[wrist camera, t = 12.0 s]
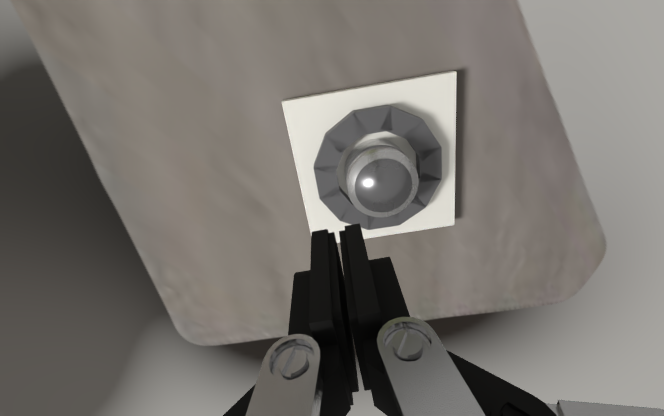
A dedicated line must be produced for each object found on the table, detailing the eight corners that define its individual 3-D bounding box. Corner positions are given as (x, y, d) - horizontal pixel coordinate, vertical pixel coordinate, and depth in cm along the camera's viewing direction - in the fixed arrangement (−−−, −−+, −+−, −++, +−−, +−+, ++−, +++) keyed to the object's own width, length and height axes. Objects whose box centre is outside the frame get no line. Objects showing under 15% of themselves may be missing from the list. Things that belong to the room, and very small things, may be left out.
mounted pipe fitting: (283, 100, 28) (280, 104, 26) (451, 70, 28) (462, 72, 26) (313, 240, 35) (313, 252, 33) (450, 219, 34) (458, 230, 32)
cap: (340, 143, 29) (343, 157, 25) (405, 134, 29) (418, 146, 25) (348, 202, 32) (351, 222, 28) (407, 193, 31) (420, 213, 28)
